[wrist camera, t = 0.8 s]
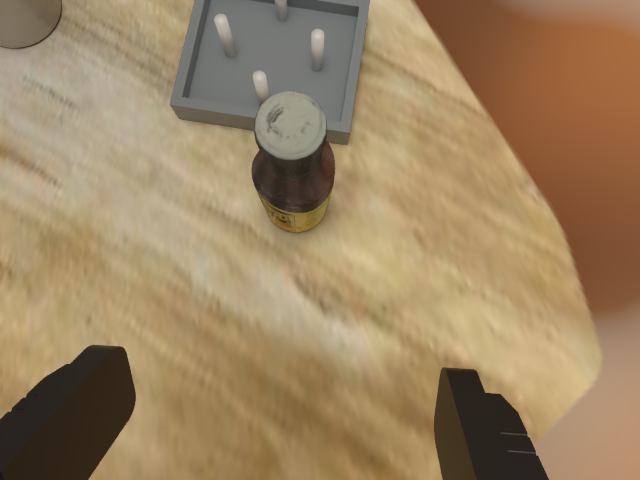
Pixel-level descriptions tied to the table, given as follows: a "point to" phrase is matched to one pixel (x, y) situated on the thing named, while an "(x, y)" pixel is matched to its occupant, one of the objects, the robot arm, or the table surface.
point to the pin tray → (270, 59)
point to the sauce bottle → (293, 161)
